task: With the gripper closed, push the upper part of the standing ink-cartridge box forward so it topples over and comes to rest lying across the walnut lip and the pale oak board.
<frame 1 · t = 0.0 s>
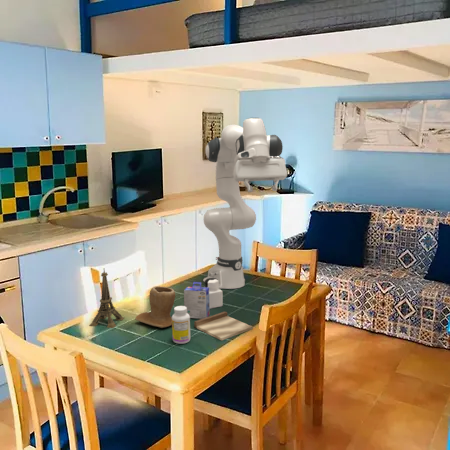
hand: (262, 190, 186), 54 cm above the table, tool tilted 30°, fingers open, 8 cm apart
brown boot planter: (158, 323, 203), on the table
ink cartridge box: (197, 316, 210), on the table
supplement bottle: (181, 341, 186), on the table
medicine bottle: (212, 305, 222), on the table
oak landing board: (222, 327, 198), on the table
eiffel tower: (107, 322, 205), on the table
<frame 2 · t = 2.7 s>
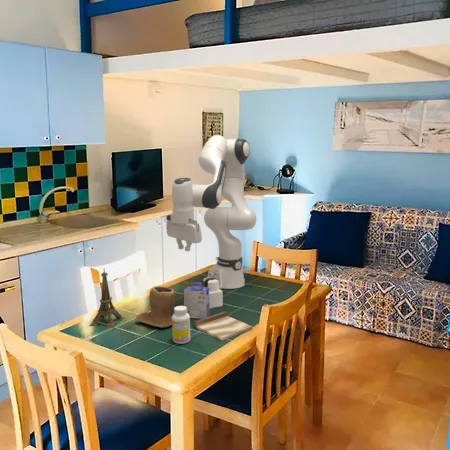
hand: (184, 250, 210), 27 cm above the table, tool pointing down, fingers open, 3 cm apart
nothing on the table moved.
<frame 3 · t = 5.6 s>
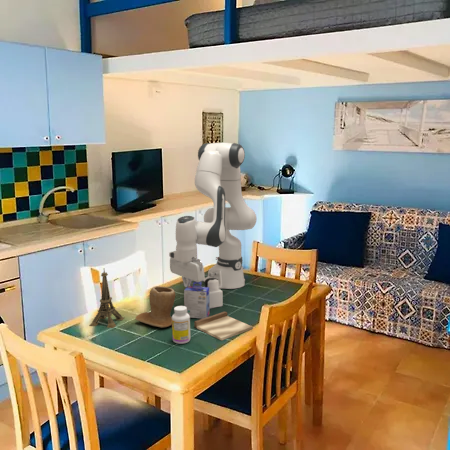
hand: (187, 287, 211), 11 cm above the table, tool pointing down, fingers closed
ink cartridge box: (197, 316, 210), on the table, touching gripper
everything else where it was.
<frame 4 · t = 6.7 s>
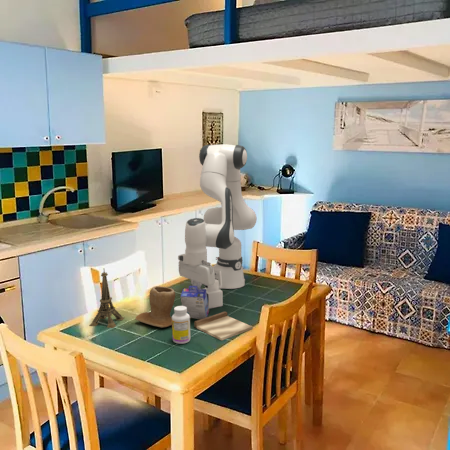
hand: (196, 290, 207), 11 cm above the table, tool pointing down, fingers closed
ink cartridge box: (197, 314, 209), point 1 cm above the table
everything else where it was.
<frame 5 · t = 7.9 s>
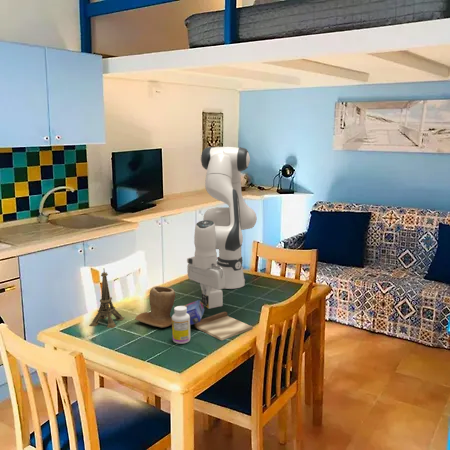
hand: (206, 294, 202), 11 cm above the table, tool pointing down, fingers closed
ink cartridge box: (191, 308, 207), point 4 cm above the table, touching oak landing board
everything else where it was.
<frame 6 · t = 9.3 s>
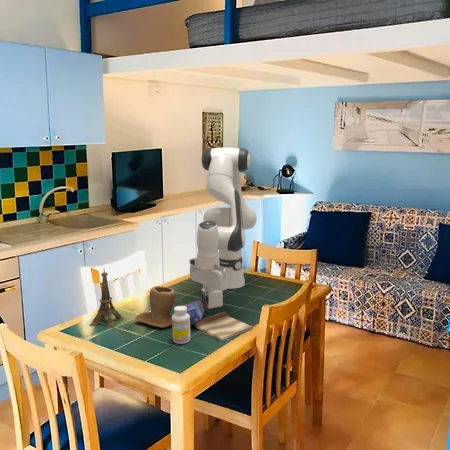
hand: (208, 295, 201), 11 cm above the table, tool pointing down, fingers closed
nothing on the table moved.
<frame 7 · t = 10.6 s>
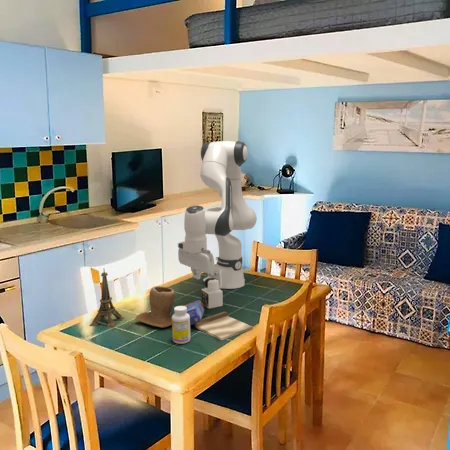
hand: (196, 278, 207), 16 cm above the table, tool pointing down, fingers closed
nothing on the table moved.
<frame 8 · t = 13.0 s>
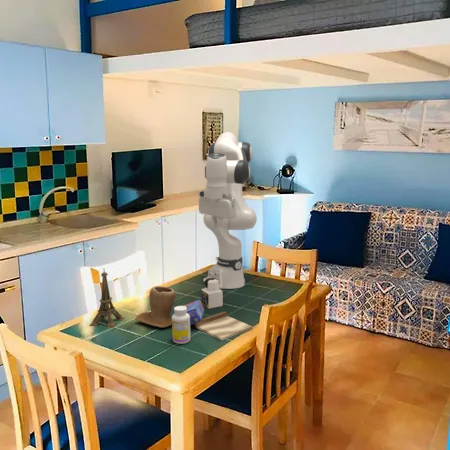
hand: (217, 226, 207), 37 cm above the table, tool pointing down, fingers closed
nothing on the table moved.
at the end: ink cartridge box tilted 92°; ink cartridge box touching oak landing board, table; the gripper is holding nothing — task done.
